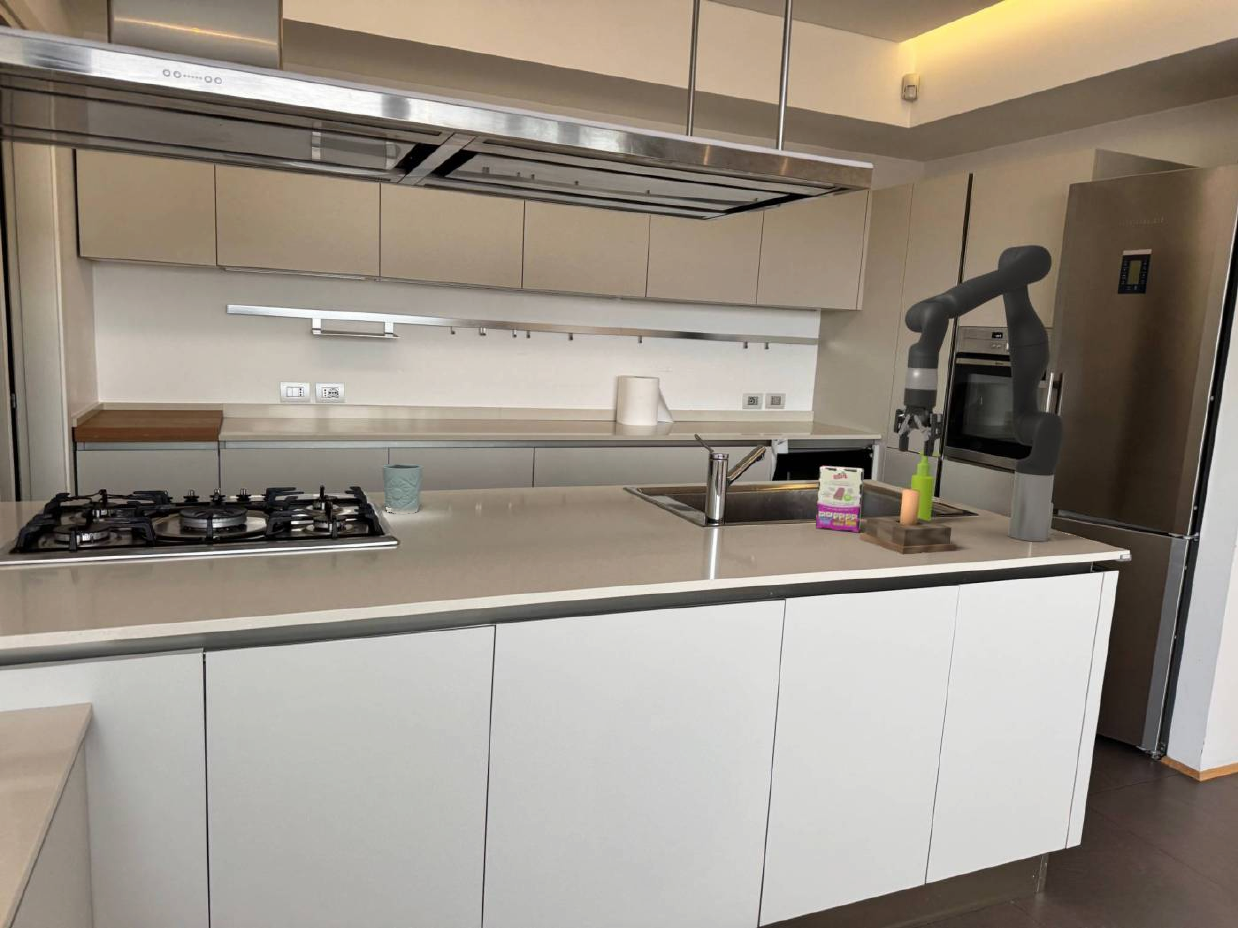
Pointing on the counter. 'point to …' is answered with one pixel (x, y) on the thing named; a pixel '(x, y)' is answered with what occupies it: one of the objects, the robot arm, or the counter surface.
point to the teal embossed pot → (402, 485)
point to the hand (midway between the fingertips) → (915, 453)
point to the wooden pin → (909, 507)
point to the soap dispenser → (924, 487)
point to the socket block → (908, 535)
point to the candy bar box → (839, 498)
